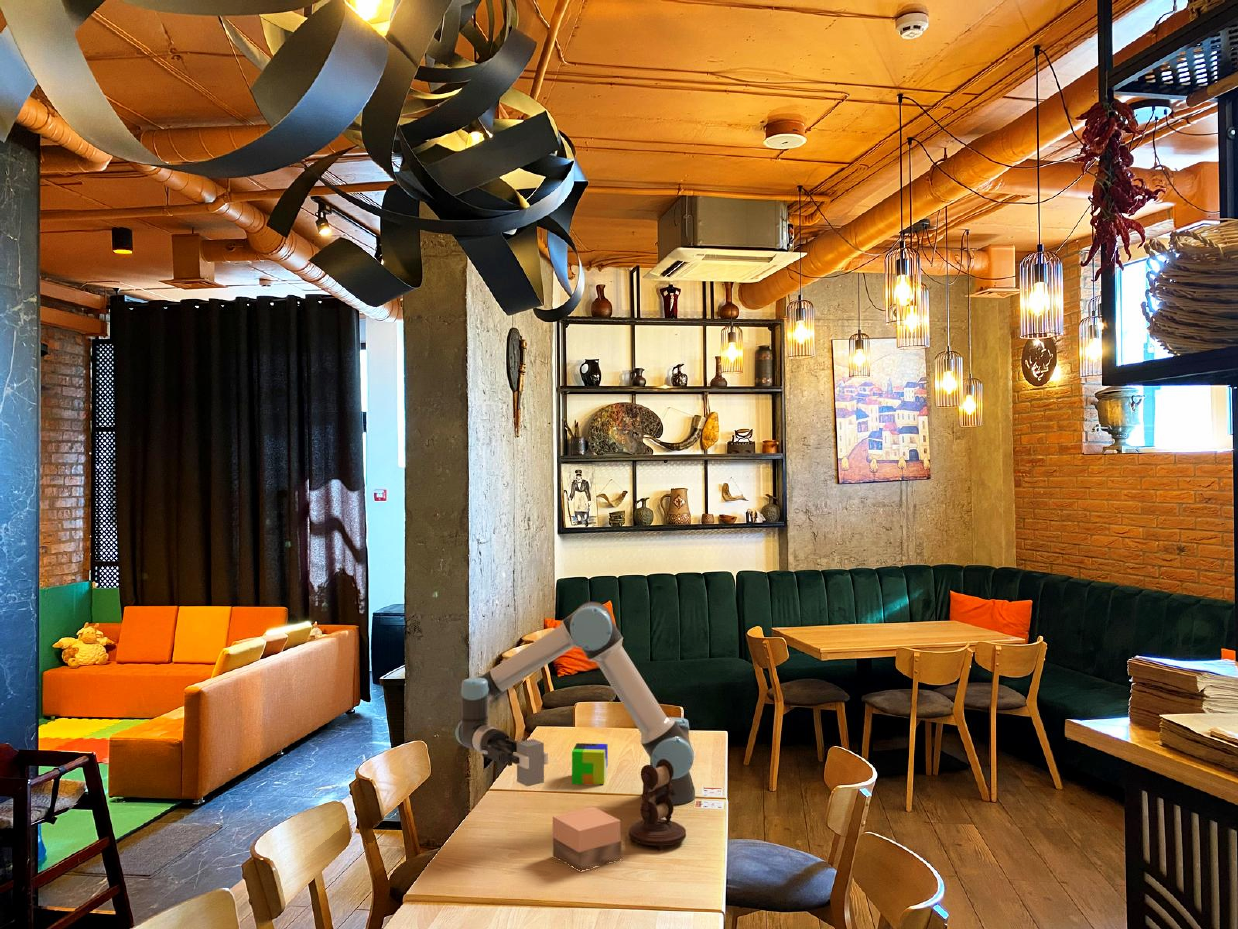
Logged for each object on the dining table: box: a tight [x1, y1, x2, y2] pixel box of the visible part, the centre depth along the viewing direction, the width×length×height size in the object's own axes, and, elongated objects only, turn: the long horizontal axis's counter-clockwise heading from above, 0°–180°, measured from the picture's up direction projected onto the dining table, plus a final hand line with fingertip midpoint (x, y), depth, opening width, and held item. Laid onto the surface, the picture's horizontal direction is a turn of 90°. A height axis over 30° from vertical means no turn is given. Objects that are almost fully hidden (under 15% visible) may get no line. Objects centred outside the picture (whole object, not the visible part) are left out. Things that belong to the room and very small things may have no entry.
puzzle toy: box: [571, 742, 609, 785], centre depth 279 cm, size 10×10×10 cm
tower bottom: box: [552, 837, 622, 871], centre depth 217 cm, size 12×12×5 cm
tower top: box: [552, 806, 621, 853], centre depth 217 cm, size 12×12×5 cm
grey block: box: [516, 738, 545, 787], centre depth 227 cm, size 5×5×10 cm
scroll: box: [628, 759, 687, 851], centre depth 228 cm, size 15×15×20 cm
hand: (537, 761), depth 224 cm, fingers closed on grey block, 5 cm apart
